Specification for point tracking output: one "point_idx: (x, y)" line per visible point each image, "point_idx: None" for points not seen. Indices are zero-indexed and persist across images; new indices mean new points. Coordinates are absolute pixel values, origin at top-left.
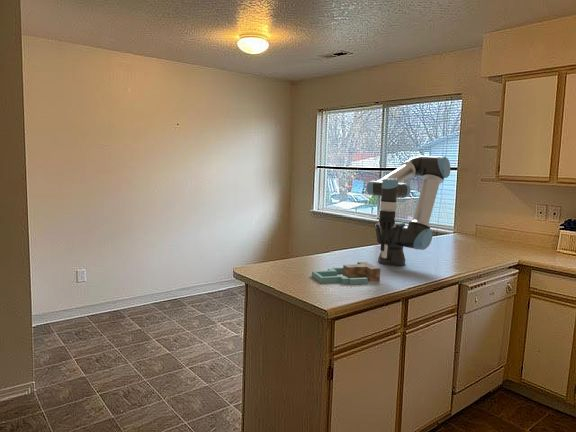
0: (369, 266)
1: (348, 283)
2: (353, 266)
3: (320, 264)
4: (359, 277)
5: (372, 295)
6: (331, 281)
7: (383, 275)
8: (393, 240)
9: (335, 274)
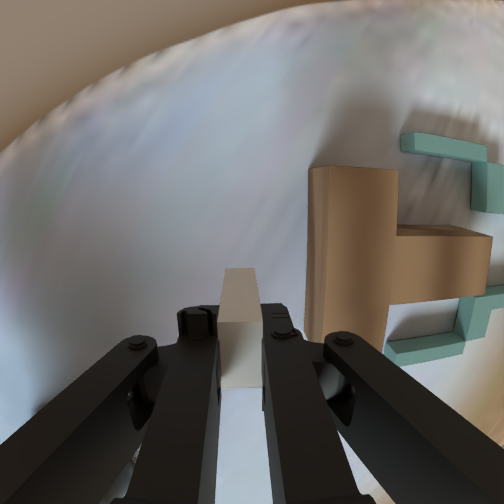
0: (374, 237)
1: (473, 162)
2: (461, 253)
3: None
4: (402, 226)
5: (432, 6)
6: None
7: (217, 277)
8: (102, 358)
9: None
